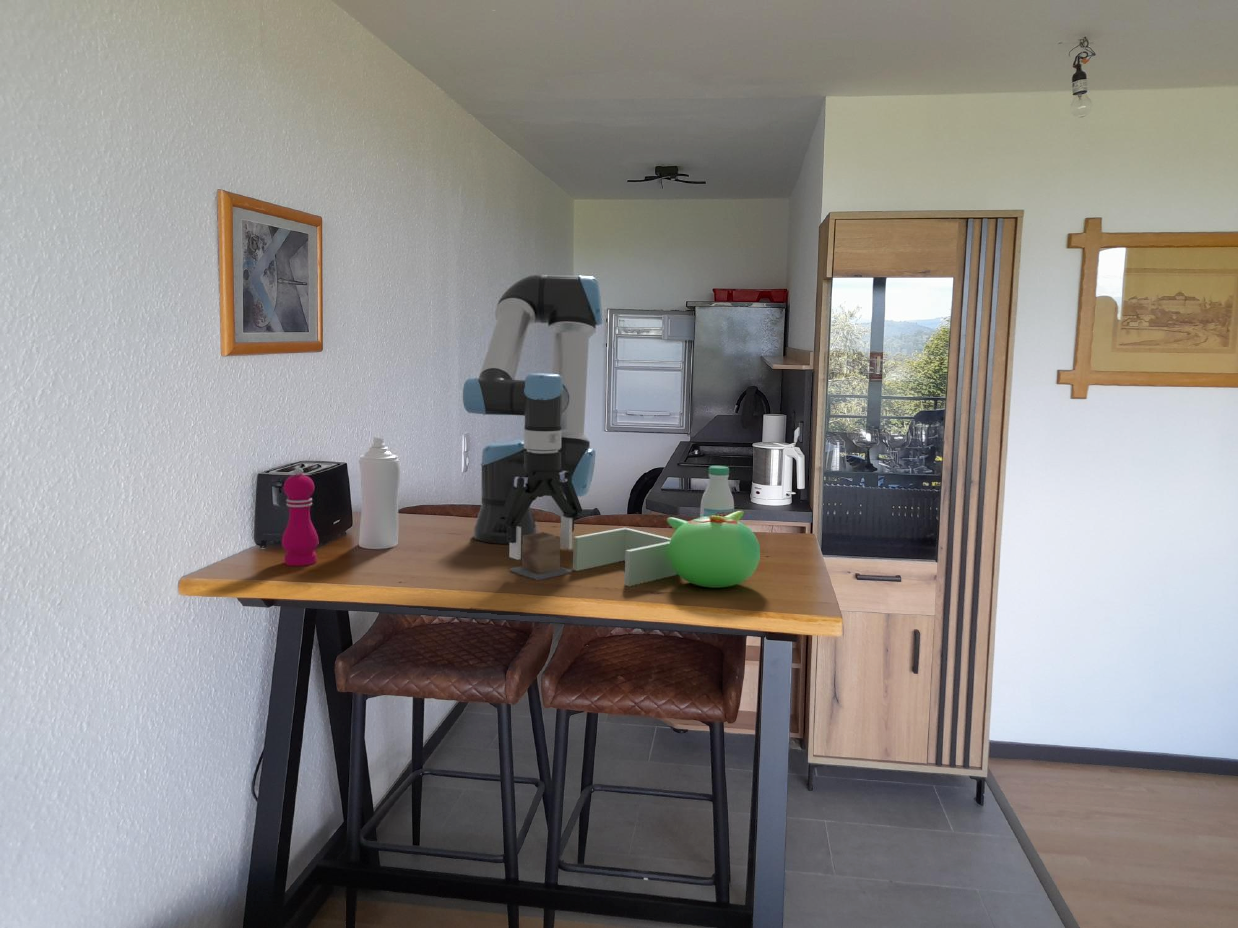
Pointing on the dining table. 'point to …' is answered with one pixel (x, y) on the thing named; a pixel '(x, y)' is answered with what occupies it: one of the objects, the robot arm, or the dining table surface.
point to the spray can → (379, 497)
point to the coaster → (540, 576)
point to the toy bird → (713, 550)
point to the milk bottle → (717, 494)
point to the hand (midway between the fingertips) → (541, 552)
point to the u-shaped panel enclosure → (625, 553)
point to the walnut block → (541, 553)
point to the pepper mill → (299, 521)
